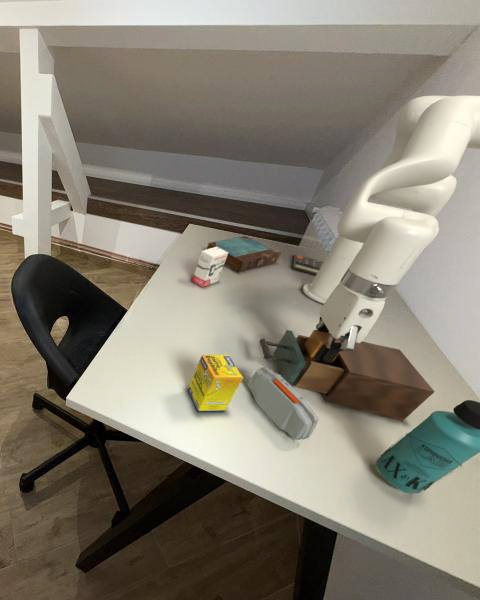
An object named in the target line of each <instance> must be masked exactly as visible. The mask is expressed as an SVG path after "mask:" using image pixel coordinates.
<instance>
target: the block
mask: <svg viewBox="0 0 480 600" xmlns="http://www.w3.org/2000/svg"><path fill="white" fill-rule="evenodd" d="M316 330H317V329H313V330H312V332H311V334H310V335H309V336H308V337H309V338H308V340H307V341H306V343H305V347H306V349H307V351H308V353H309V355H310V357H312V358H315V356H316V354H317V353H318V351H319V350H320V348H321V347H322V346H323V344H324V345H326V344H327V341H328V339H329V337H330V335H331V334H330V332H329V333H325V332H321V331H316ZM337 342H338V343H340V341H339V340H338V339H335V341H334V343H337ZM339 353H340V352H339ZM339 353H338V354H339ZM336 357H337V356H336ZM336 357H335V358H336ZM333 361H334V360H333ZM333 361H332V362H333Z"/></svg>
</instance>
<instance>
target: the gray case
mask: <svg viewBox="0 0 480 600" xmlns="http://www.w3.org/2000/svg"><path fill="white" fill-rule="evenodd" d="M247 385H248V388H249V390H250V392H251V394H252V395H253V399H254V402H255V403H256V404H257V406H258V407H259V408H260V410H261V411H262V412H263V413H264V415H266V416H267V418H268V419H269V420H270V421H271V422H272V423H273V424H274V425H275V426H276V427H277V428H278V429H280V430H282V431H284V432H286V433H287V434H288V435H289V436H291V438H293V439H294V440H298V441H299V440H308V439H309V438H310V437H311V436H312V435H313V432H314V430H315V429H316V428H317V424H318V422H319V419H320V418H319V416H318V414H316V412H315V411H314V409H313V408H312V406H311V405H310V403H309V402H308V401H307V399H306V398H305V397H303V395H302V394H300V393H299V392H298V391H297V390H296V389H295V388H294V387H293V386H292V385H290V384H289V383H288V382H287V381H286V380H285V379H283V378H282V377H281V375H280V373H277V372H275V371H273V370H271V369H270V368H269V367H267V366H262V367H259V369H258V370H256V371H255V373H254V374H253V375H252V376H251V377H250V378H249V380H248V381H247Z"/></svg>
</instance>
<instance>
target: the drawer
mask: <svg viewBox="0 0 480 600" xmlns="http://www.w3.org/2000/svg"><path fill="white" fill-rule="evenodd" d="M309 337H310V336H308V335H307V336H306V335H302V334H298V335H297V337H295V334H294V332H293V330H289V329H286V330H285V332H284V334H283V336H281V339H280V341H279V343H275V342H272V341H267V339H265V338H261V339H259V345H260V349H261V352H262V356H263V359H265V360H266V361H268V360H274V361H275V363H276V367H277V370H278V372H279V375H280V376H281V377H282V378H283V379H285V380H286V381H287V382H288V383H289V384H290V385H291V386H292V385H293V384H294V385H295V387H298V388H302V389H305V390H310V391H313V392H318V393H321V394H322V393H325V394H329V393H330V392H331V391H332V389H333V388H334V387H335V386H336V384H337V383H338V382H339V381H340V379H341V378H342V377H343V376H344V374H345V373H346V370H345V368H344V367H343V365H342V363H341V361H340V360H339V358H338V356H337V357H336V358H335V359H334V361H333V362H331V363H328V362H323V361H319V360H316V359H315V358H312V357H310V355H309V353H308V351H307V349H306V347H305V343H306V341H307V340H308V338H309ZM269 347H274V348H275V349H274V351H273V355H272V354H271V352H270V349H269Z"/></svg>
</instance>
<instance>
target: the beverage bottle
mask: <svg viewBox="0 0 480 600" xmlns="http://www.w3.org/2000/svg"><path fill="white" fill-rule="evenodd" d="M452 409H453V411H447V410H434V411H433V412H431V413H430V415H429V416H427V418H425V419H424V420H422V421H421V422H420V423H419V424H418V425H417V426H415V427H414V428H413V429H412V430H411V431H409V432H407V433H405V435H403V436H402V437H400V438H399V439H397V441H396V442H394V443H393V444H391V446H389V447H388V448H387V449H386V450H384V452H382V453H381V455H379V457H377V459H376V462H375V463H376V464H375V466H376V469H377V471H378V473H379V474H380V475H381V477H383V479H384V480H385V481H386V482H388V484H390V485H391V486H393V487H394V488H396V489H398V490H399V491H401V492H403V493H407V494H410V495H411V494H412V495H413V494H420V493H422V492H426V491H427V490H428V489H430V488H431V487H432V486H435V485H436V484H438V483H439V481H440V480H443V479H444V478H446V477H447V476H448V475H449V474H452V473H453V472H454V471H455V470H456V469H458V468H462V466H463V464H465V463H466V462H468V461H469V460H471V459H472V458H473V457H475V456H476V455H478V454H479V453H480V401H476V400H473V399H466V400H463V401H462V402H461V403H459V404H457V405H455V406H454V407H453V408H452Z"/></svg>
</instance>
